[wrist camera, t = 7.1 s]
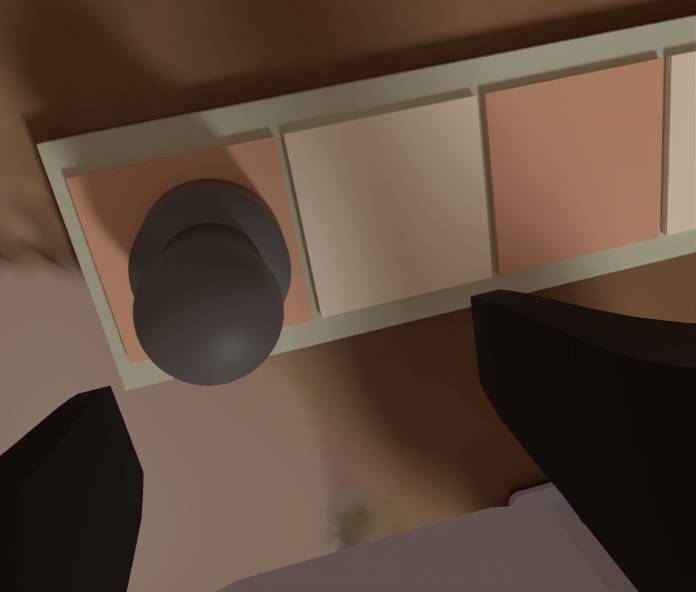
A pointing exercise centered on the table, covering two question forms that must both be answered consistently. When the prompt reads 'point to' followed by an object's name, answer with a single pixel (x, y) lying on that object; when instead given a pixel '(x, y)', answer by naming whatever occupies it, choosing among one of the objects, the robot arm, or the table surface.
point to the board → (416, 182)
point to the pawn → (209, 282)
